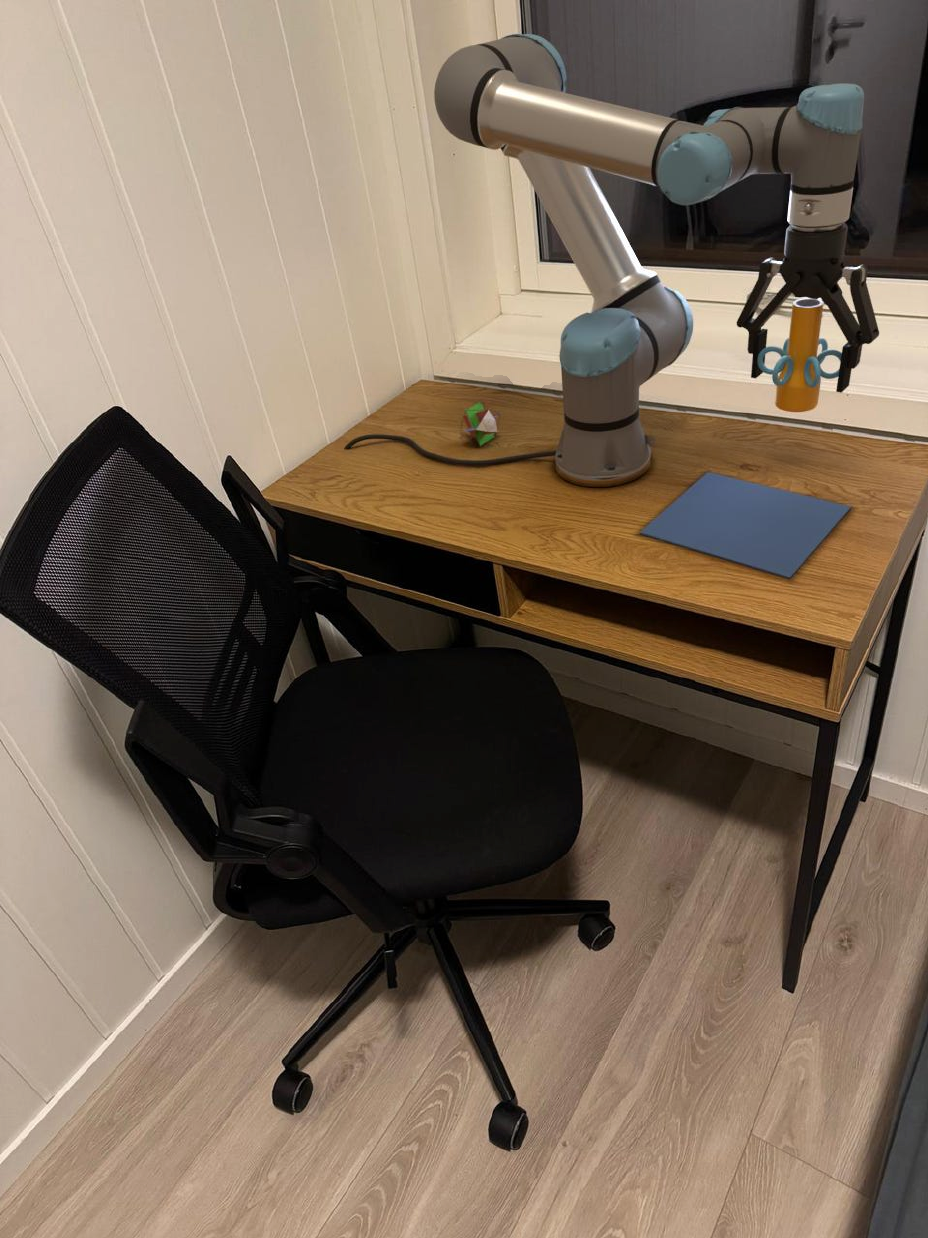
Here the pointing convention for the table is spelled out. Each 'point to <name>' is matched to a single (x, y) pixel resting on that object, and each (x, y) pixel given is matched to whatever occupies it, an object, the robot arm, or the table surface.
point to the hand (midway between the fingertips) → (798, 381)
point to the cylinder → (800, 359)
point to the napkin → (747, 523)
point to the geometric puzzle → (480, 423)
